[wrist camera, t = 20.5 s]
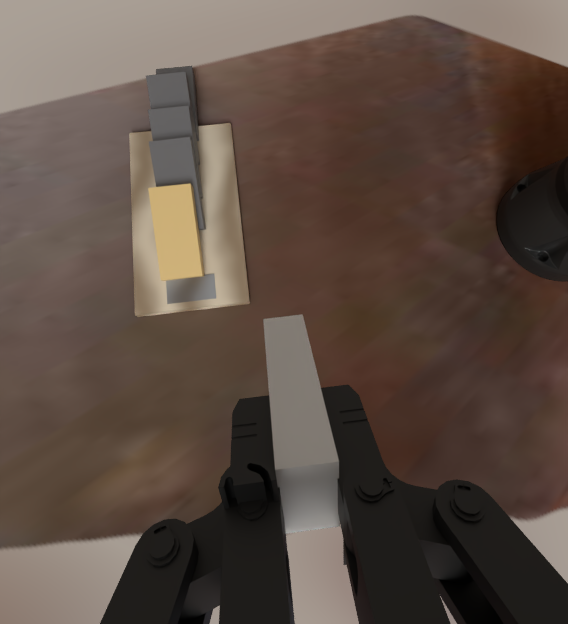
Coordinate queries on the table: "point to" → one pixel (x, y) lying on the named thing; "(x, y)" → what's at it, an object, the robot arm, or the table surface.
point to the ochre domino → (176, 232)
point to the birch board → (214, 240)
